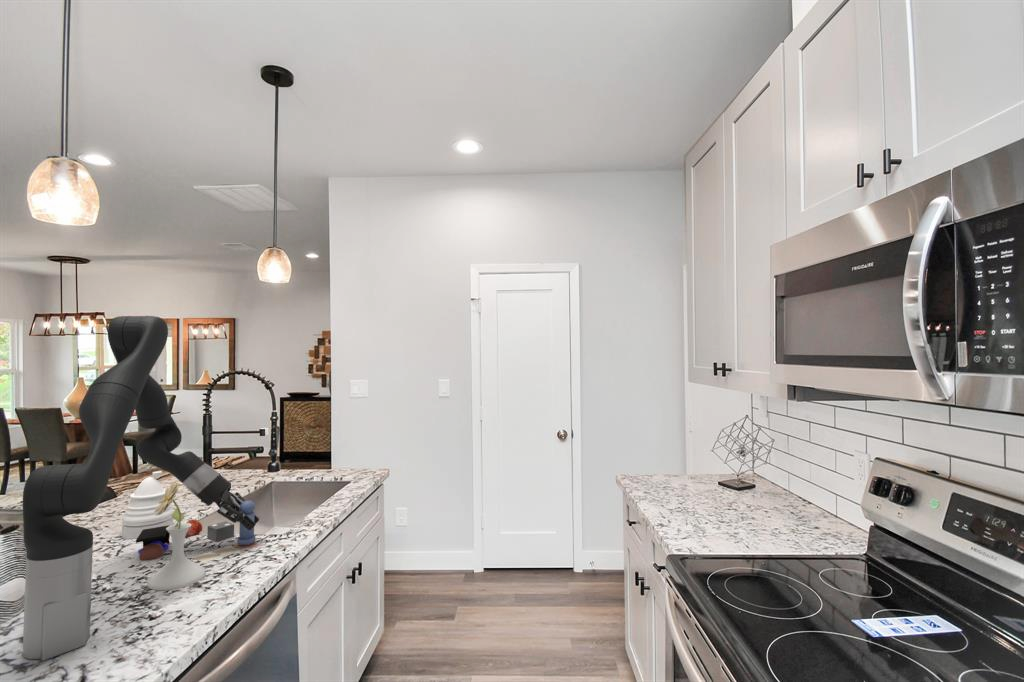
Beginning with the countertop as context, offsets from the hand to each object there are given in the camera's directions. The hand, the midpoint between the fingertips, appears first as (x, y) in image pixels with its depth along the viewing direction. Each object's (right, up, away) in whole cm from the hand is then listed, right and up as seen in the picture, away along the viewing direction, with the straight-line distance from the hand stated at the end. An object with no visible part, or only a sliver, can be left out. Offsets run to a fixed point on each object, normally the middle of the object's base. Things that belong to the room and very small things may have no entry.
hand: (254, 524), depth 139 cm
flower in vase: (-6, -6, -23) cm, 25 cm away
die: (-12, -7, +5) cm, 15 cm away
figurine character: (-25, -7, -5) cm, 26 cm away
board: (-5, -7, -5) cm, 10 cm away
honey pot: (-41, -8, +14) cm, 44 cm away
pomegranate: (-23, -8, +9) cm, 26 cm away
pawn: (-2, -5, -1) cm, 5 cm away
